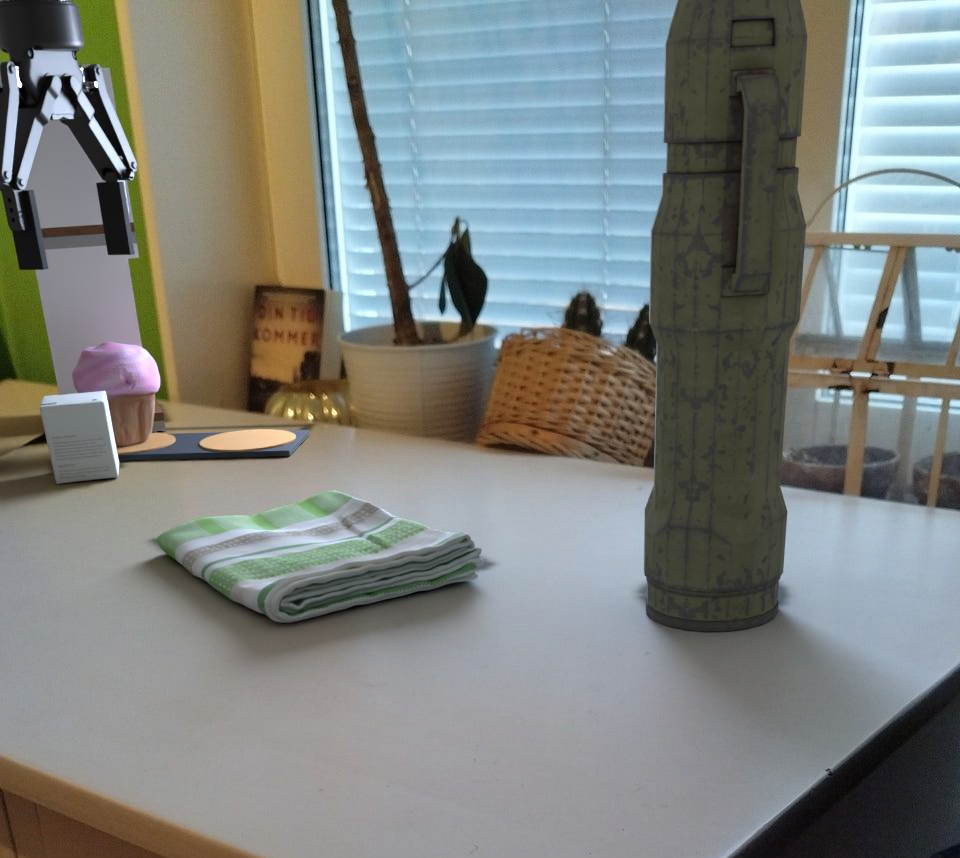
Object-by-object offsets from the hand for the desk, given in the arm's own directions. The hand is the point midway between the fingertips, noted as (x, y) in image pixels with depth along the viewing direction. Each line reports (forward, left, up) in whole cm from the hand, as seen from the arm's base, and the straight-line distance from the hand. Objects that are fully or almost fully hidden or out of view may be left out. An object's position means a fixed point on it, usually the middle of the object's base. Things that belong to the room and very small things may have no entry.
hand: (79, 262), depth 127 cm
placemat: (+7, +4, -19) cm, 20 cm away
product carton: (0, -7, -19) cm, 20 cm away
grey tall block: (-6, +17, -19) cm, 26 cm away
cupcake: (0, +4, -18) cm, 18 cm away
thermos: (+58, -50, -19) cm, 79 cm away
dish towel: (+29, -39, -19) cm, 52 cm away
